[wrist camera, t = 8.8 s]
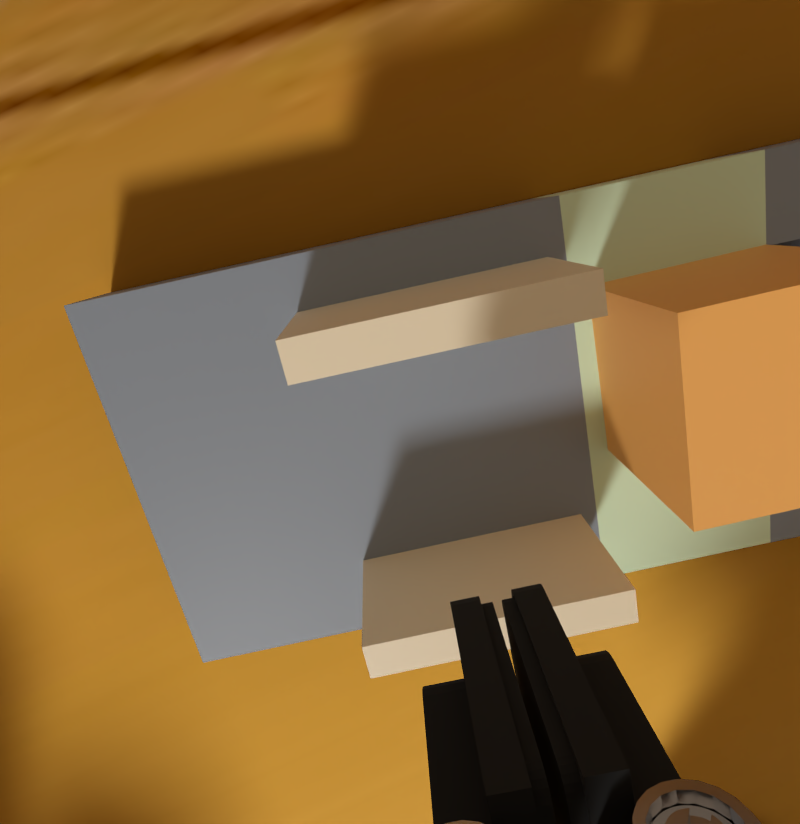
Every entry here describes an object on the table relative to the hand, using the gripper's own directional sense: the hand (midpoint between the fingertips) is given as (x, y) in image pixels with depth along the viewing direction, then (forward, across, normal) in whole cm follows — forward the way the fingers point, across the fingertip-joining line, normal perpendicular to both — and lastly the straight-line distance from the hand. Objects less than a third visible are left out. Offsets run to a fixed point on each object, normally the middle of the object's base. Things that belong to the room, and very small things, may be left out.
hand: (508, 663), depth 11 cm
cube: (+8, -7, -3) cm, 11 cm away
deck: (+11, -3, -2) cm, 11 cm away
